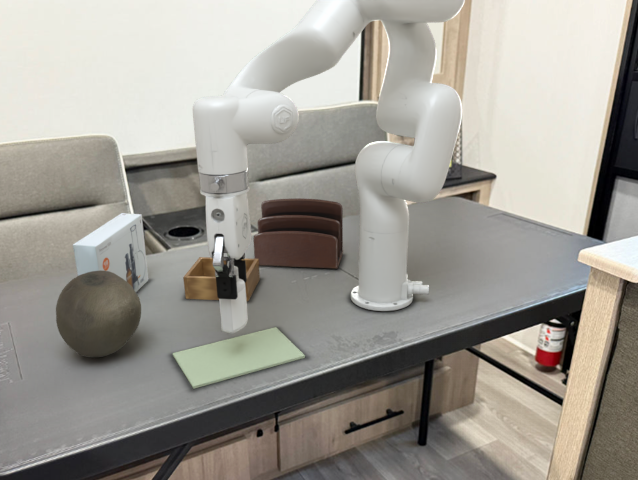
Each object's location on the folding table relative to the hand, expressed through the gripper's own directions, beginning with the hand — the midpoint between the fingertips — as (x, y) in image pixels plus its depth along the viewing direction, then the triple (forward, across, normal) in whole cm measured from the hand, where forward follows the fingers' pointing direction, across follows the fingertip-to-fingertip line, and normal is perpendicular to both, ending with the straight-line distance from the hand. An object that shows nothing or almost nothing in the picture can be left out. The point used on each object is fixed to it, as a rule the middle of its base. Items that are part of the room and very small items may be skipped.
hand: (232, 289), depth 99 cm
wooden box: (+13, +28, +10) cm, 32 cm away
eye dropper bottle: (+7, 0, 0) cm, 7 cm away
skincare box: (+13, +21, +31) cm, 40 cm away
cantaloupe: (+13, -1, +24) cm, 27 cm away
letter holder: (+13, +46, -4) cm, 48 cm away
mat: (+13, 0, 0) cm, 13 cm away
